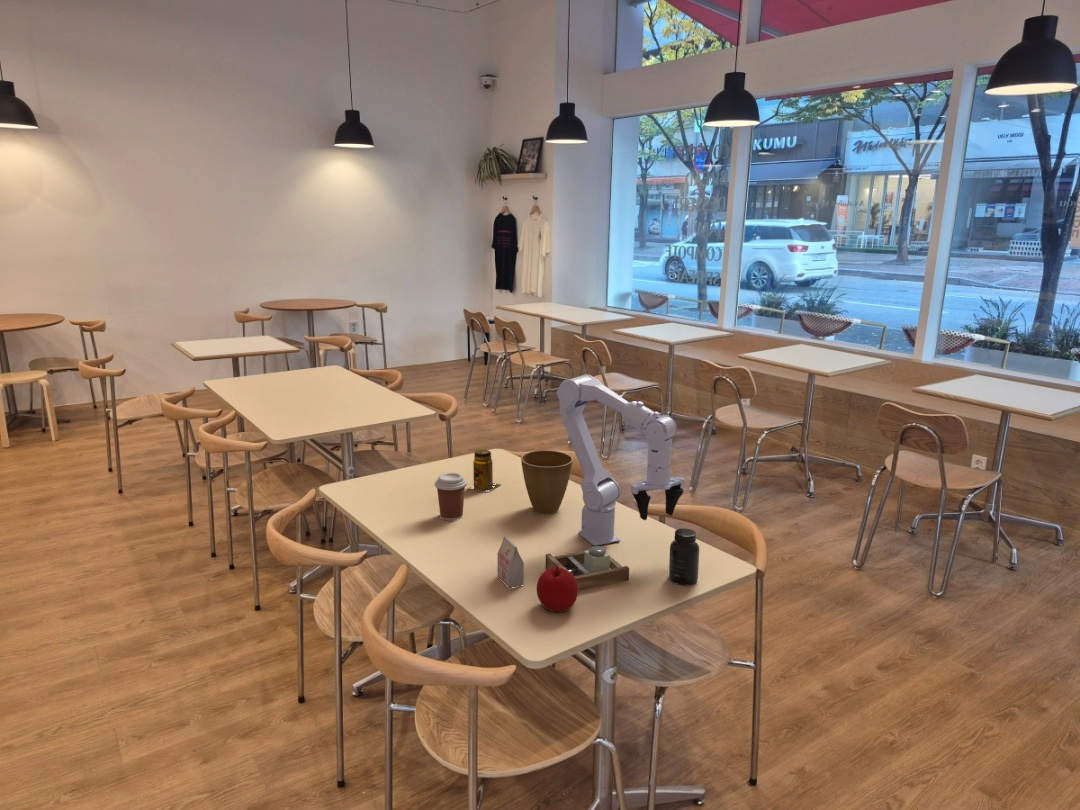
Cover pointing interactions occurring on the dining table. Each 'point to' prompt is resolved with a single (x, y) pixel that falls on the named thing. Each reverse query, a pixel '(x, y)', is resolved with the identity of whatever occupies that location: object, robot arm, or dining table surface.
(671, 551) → the supplement bottle
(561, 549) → the dining table surface
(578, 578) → the brown wooden shallow box
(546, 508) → the plant pot
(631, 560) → the dining table surface
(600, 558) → the jar
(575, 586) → the apple
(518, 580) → the milk carton
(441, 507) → the coffee cup
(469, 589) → the dining table surface
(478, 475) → the condiment
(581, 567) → the pusher plate
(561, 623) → the dining table surface
